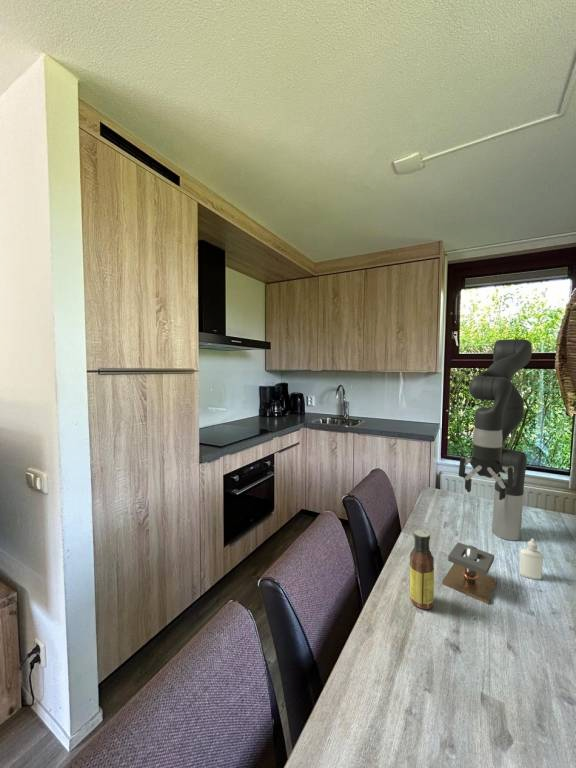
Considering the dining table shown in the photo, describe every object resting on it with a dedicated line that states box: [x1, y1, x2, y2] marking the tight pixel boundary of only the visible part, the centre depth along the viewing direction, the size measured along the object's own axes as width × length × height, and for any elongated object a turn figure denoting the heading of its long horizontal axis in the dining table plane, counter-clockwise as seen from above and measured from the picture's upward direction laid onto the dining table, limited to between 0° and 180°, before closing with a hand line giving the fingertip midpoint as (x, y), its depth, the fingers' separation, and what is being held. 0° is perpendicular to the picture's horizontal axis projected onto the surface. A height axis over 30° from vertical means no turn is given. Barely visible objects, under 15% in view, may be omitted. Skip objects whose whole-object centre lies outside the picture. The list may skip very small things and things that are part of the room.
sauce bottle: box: [409, 529, 435, 610], centre depth 90 cm, size 7×6×20 cm
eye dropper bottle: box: [518, 537, 544, 581], centre depth 102 cm, size 4×6×12 cm
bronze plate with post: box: [441, 544, 498, 605], centre depth 98 cm, size 12×12×11 cm
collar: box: [447, 542, 495, 576], centre depth 98 cm, size 10×10×2 cm
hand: (484, 495), depth 100 cm, fingers open, 8 cm apart
